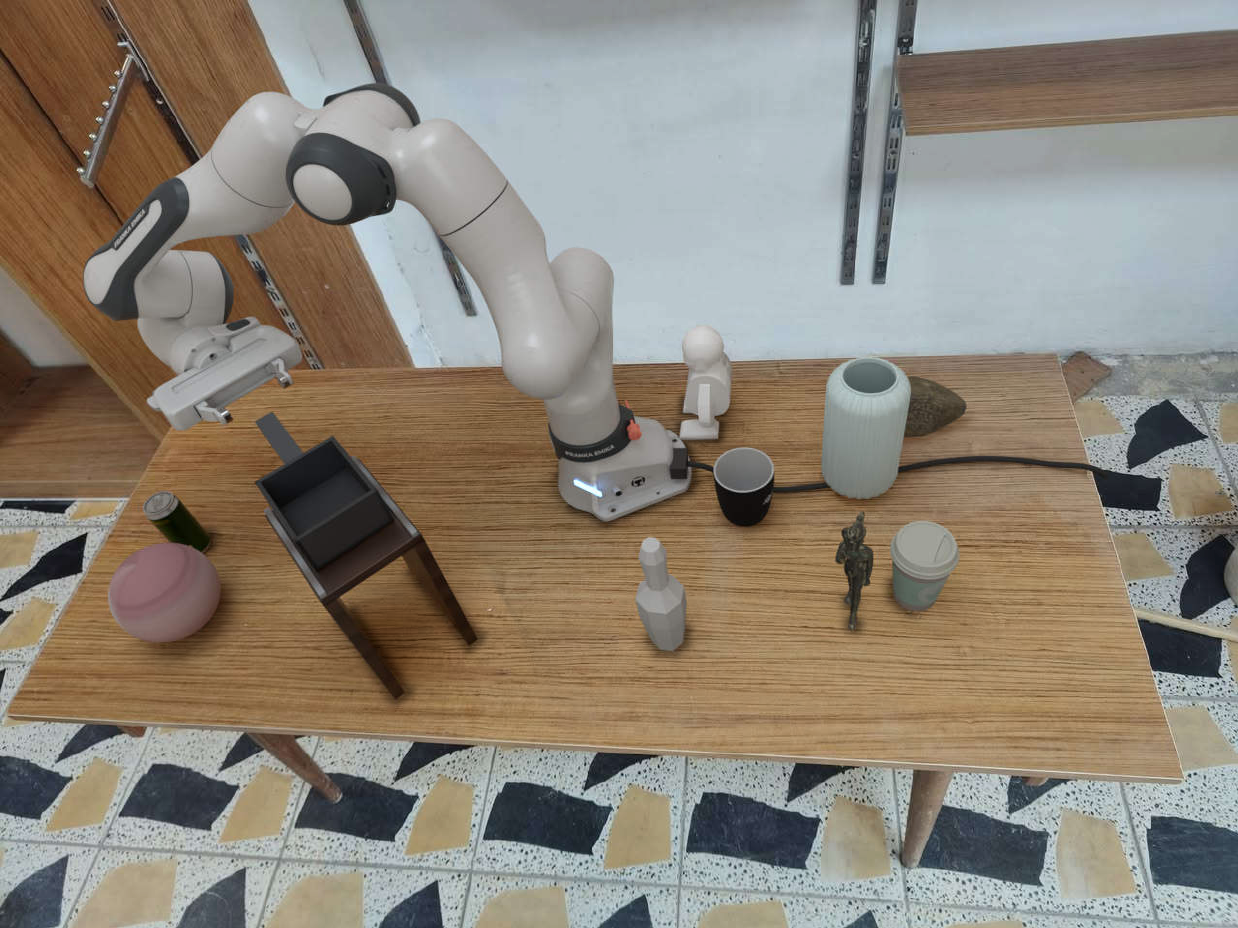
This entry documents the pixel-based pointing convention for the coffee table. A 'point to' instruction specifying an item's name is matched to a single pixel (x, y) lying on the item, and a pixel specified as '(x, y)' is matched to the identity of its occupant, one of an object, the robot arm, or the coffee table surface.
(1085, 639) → the coffee table surface
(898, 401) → the vase
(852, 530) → the statue
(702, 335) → the toy robot
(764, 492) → the mug
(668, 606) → the faceted bottle
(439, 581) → the stand
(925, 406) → the stone
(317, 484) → the basket
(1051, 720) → the coffee table surface
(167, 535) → the beer can
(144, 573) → the pink rounded ball
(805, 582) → the coffee table surface
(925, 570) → the coffee cup
